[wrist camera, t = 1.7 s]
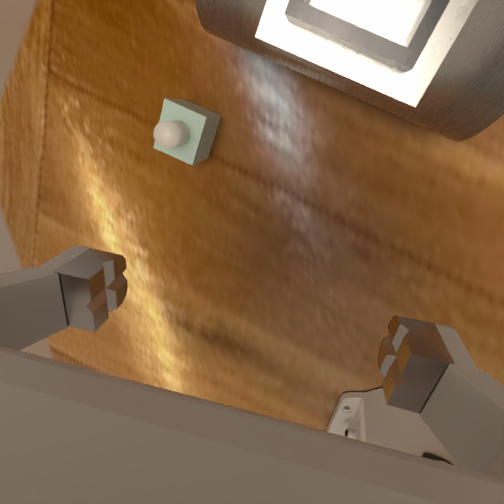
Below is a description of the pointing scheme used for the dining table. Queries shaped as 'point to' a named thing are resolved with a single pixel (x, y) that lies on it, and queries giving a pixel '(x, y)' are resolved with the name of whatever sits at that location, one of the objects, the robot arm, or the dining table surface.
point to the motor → (383, 52)
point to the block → (185, 130)
